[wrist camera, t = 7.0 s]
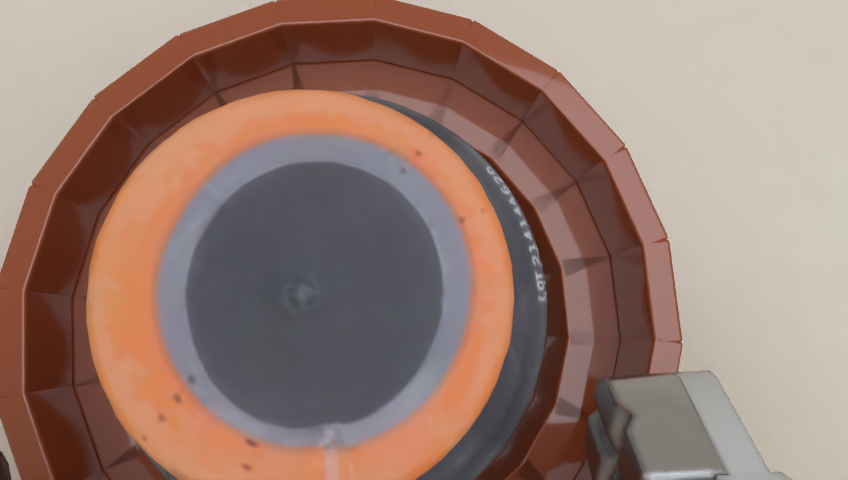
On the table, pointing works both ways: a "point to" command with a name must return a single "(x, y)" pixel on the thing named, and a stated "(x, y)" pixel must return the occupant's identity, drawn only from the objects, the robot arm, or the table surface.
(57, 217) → the bowl
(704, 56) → the table surface
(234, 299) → the pill bottle
